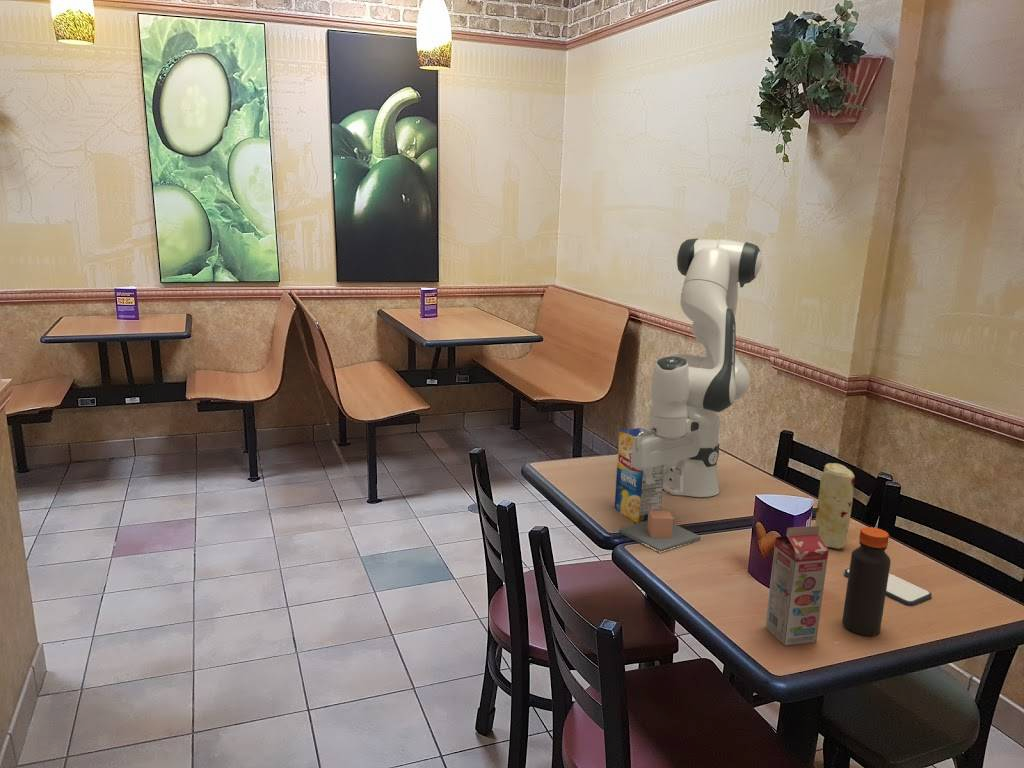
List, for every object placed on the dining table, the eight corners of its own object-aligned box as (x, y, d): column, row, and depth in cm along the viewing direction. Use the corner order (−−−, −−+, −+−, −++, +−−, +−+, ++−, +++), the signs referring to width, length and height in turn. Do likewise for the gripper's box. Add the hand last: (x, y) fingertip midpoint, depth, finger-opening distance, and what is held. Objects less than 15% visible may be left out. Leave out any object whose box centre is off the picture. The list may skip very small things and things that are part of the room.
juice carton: (765, 626, 145) (777, 520, 140) (795, 623, 147) (808, 518, 142) (784, 645, 139) (798, 535, 134) (816, 641, 140) (830, 533, 135)
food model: (853, 550, 180) (864, 472, 175) (829, 553, 178) (840, 473, 174) (827, 534, 189) (837, 458, 184) (804, 536, 187) (813, 460, 183)
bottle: (887, 636, 143) (902, 539, 138) (853, 637, 142) (867, 539, 138) (867, 617, 149) (881, 524, 145) (835, 618, 149) (848, 524, 144)
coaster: (618, 532, 186) (619, 528, 186) (658, 520, 194) (658, 516, 194) (659, 553, 175) (660, 549, 175) (700, 540, 183) (700, 536, 183)
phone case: (933, 600, 159) (865, 567, 172) (934, 593, 158) (866, 561, 171) (909, 610, 154) (840, 576, 167) (910, 603, 154) (842, 570, 167)
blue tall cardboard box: (638, 524, 192) (644, 442, 187) (614, 508, 201) (619, 430, 196) (660, 519, 195) (666, 439, 190) (634, 505, 204) (640, 427, 199)
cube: (647, 528, 186) (648, 510, 185) (667, 529, 186) (668, 510, 185) (651, 537, 181) (652, 518, 180) (671, 537, 181) (673, 518, 180)
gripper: (645, 436, 170) (642, 492, 173) (706, 421, 181) (702, 475, 185) (626, 429, 175) (623, 484, 178) (686, 415, 186) (682, 467, 190)
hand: (664, 479), depth 182 cm, fingers open, 8 cm apart
